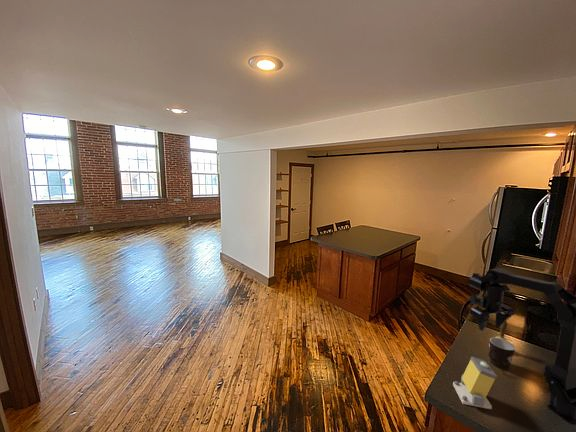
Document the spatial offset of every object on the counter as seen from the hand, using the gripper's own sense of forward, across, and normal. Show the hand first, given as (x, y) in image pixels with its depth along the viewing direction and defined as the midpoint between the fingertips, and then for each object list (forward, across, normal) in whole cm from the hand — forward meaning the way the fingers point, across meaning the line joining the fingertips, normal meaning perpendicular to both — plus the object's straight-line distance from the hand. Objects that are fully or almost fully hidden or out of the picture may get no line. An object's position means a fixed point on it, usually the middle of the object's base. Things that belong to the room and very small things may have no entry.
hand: (489, 328), depth 112 cm
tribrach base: (+14, +25, +15) cm, 33 cm away
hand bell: (+15, -14, -3) cm, 21 cm away
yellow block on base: (+12, +25, +15) cm, 32 cm away
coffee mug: (+15, -1, +4) cm, 16 cm away
